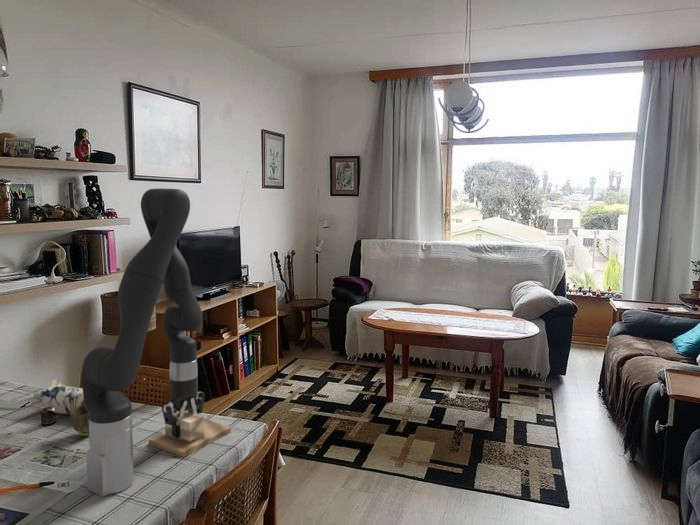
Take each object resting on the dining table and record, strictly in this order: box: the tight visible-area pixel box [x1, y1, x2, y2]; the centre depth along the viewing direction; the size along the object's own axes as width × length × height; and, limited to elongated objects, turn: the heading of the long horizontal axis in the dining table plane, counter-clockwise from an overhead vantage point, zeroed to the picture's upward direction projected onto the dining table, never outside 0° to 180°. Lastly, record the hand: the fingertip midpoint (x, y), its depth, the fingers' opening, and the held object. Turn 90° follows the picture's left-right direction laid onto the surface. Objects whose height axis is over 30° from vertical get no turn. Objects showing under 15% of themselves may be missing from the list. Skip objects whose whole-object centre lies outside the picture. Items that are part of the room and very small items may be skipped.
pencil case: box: [39, 379, 84, 416], centre depth 160 cm, size 22×8×10 cm, turn 78°
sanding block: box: [164, 410, 205, 444], centre depth 142 cm, size 5×10×6 cm, turn 60°
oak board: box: [148, 418, 232, 458], centre depth 145 cm, size 18×14×2 cm
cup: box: [69, 404, 89, 438], centre depth 145 cm, size 8×7×8 cm
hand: (184, 433), depth 143 cm, fingers closed on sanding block, 5 cm apart
